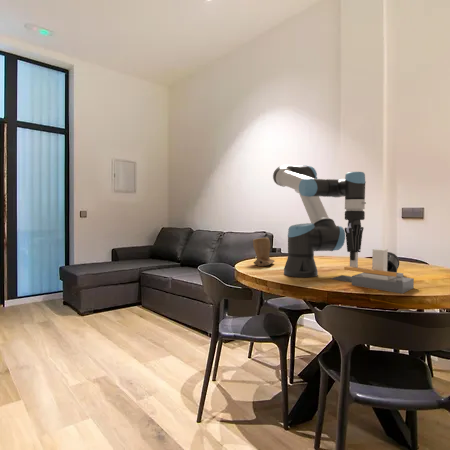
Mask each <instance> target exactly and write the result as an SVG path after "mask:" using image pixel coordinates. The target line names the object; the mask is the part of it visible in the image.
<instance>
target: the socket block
mask: <svg viewBox="0 0 450 450" xmlns="http://www.w3.org/2000/svg"><path fill="white" fill-rule="evenodd" d="M363 273H364V272H359V273H357V274H354V275H352V276H351V277H352V282H351V286H355V287H361V288H368V289H374V290H378V291H386V292H390V293H395V294H396V293H397V294H401V295H402V294H404V293H407V292H408V291H411V290H412V289H414V284H415V281H414V278H411V277H405V276H403V277H395V278H393V279H390V280H381V279H375V278H368V277H363Z"/></svg>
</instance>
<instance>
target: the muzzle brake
mask: <svg viewBox="0 0 450 450" xmlns="http://www.w3.org/2000/svg"><path fill="white" fill-rule="evenodd" d="M399 268H400V259H399V257H398V256H397V255H396V254H395V253H393V252H391V251H388V255H387V271H389V272H397V273H398V269H399Z"/></svg>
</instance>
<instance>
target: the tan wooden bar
mask: <svg viewBox="0 0 450 450" xmlns="http://www.w3.org/2000/svg"><path fill="white" fill-rule="evenodd" d="M343 270H344V271H352V272H359V273H364V272H365V273H372V274H379V275H387V276H394V277H404V273H402V272H398V271H397V272H389V271H381V270H373V269H372V268H364V267H358V268H357V267H350V265H348V266H347V265H346V266H344V268H343Z"/></svg>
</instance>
